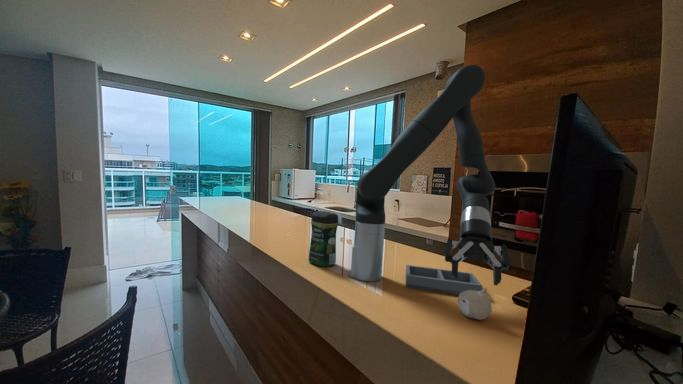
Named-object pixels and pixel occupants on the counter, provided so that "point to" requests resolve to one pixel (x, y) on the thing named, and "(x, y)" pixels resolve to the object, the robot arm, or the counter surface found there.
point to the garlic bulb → (475, 304)
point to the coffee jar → (323, 238)
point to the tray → (440, 280)
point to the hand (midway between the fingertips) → (475, 280)
